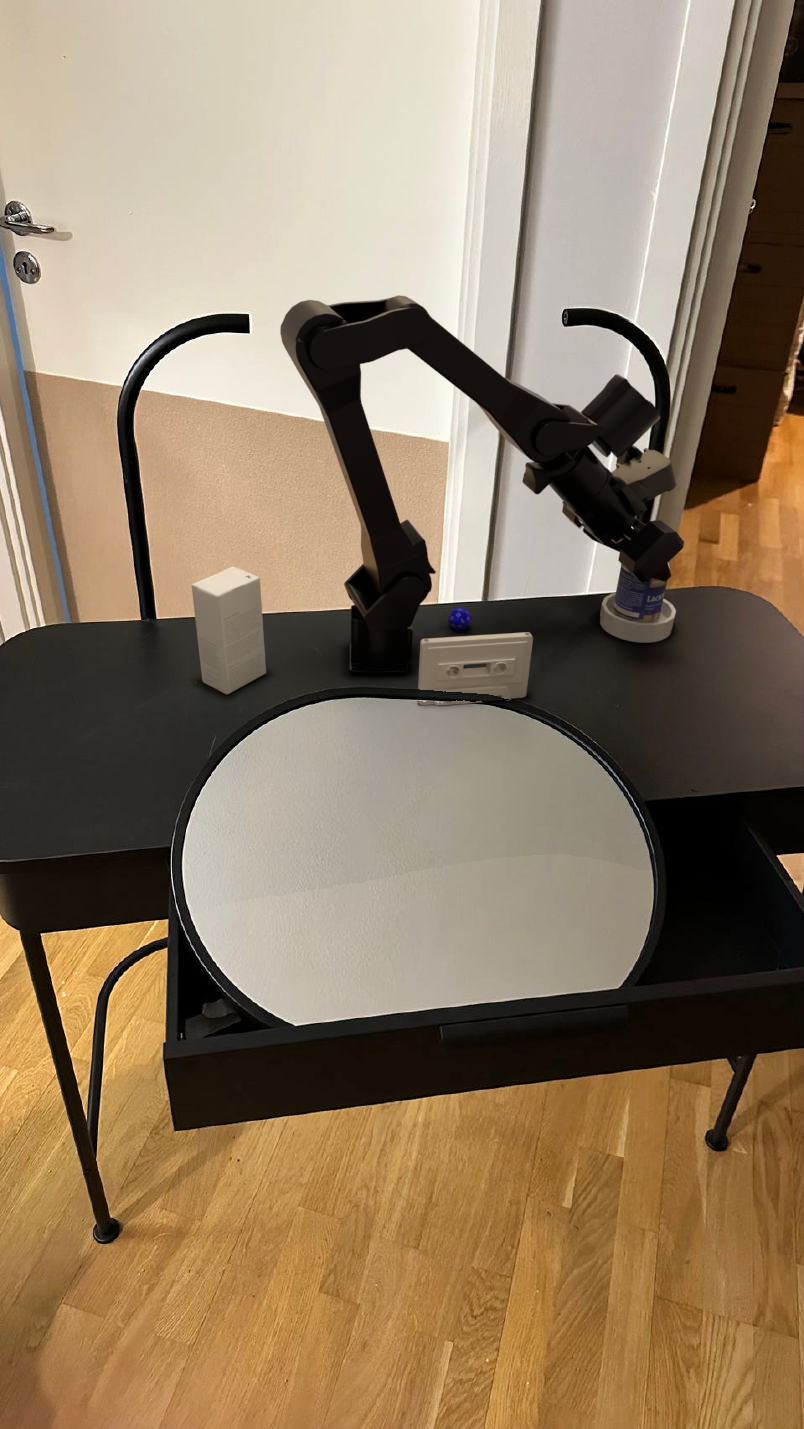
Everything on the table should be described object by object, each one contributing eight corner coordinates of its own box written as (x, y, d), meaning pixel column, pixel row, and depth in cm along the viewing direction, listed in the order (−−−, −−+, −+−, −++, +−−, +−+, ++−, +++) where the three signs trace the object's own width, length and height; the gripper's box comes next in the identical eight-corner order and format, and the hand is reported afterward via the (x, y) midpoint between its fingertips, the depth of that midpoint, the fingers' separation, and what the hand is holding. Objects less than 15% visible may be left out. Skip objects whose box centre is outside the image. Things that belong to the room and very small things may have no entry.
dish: (607, 642, 117) (611, 624, 116) (593, 608, 125) (595, 590, 123) (680, 643, 118) (684, 624, 116) (661, 608, 125) (664, 591, 124)
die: (466, 636, 118) (452, 619, 116) (453, 634, 120) (439, 617, 119) (479, 619, 119) (466, 602, 117) (466, 618, 121) (453, 601, 119)
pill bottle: (650, 633, 117) (665, 556, 112) (604, 620, 120) (618, 544, 114) (665, 615, 122) (681, 540, 116) (621, 602, 124) (634, 528, 118)
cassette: (523, 690, 108) (530, 629, 104) (527, 700, 106) (535, 638, 102) (416, 698, 106) (418, 636, 102) (419, 708, 104) (422, 645, 100)
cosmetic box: (240, 661, 111) (233, 564, 104) (267, 674, 109) (261, 576, 102) (199, 682, 107) (189, 583, 101) (226, 696, 105) (218, 596, 98)
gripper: (686, 460, 99) (752, 551, 108) (600, 406, 114) (665, 490, 123) (604, 539, 101) (676, 622, 111) (530, 476, 116) (599, 554, 125)
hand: (654, 567), depth 117 cm, fingers closed on pill bottle, 6 cm apart
